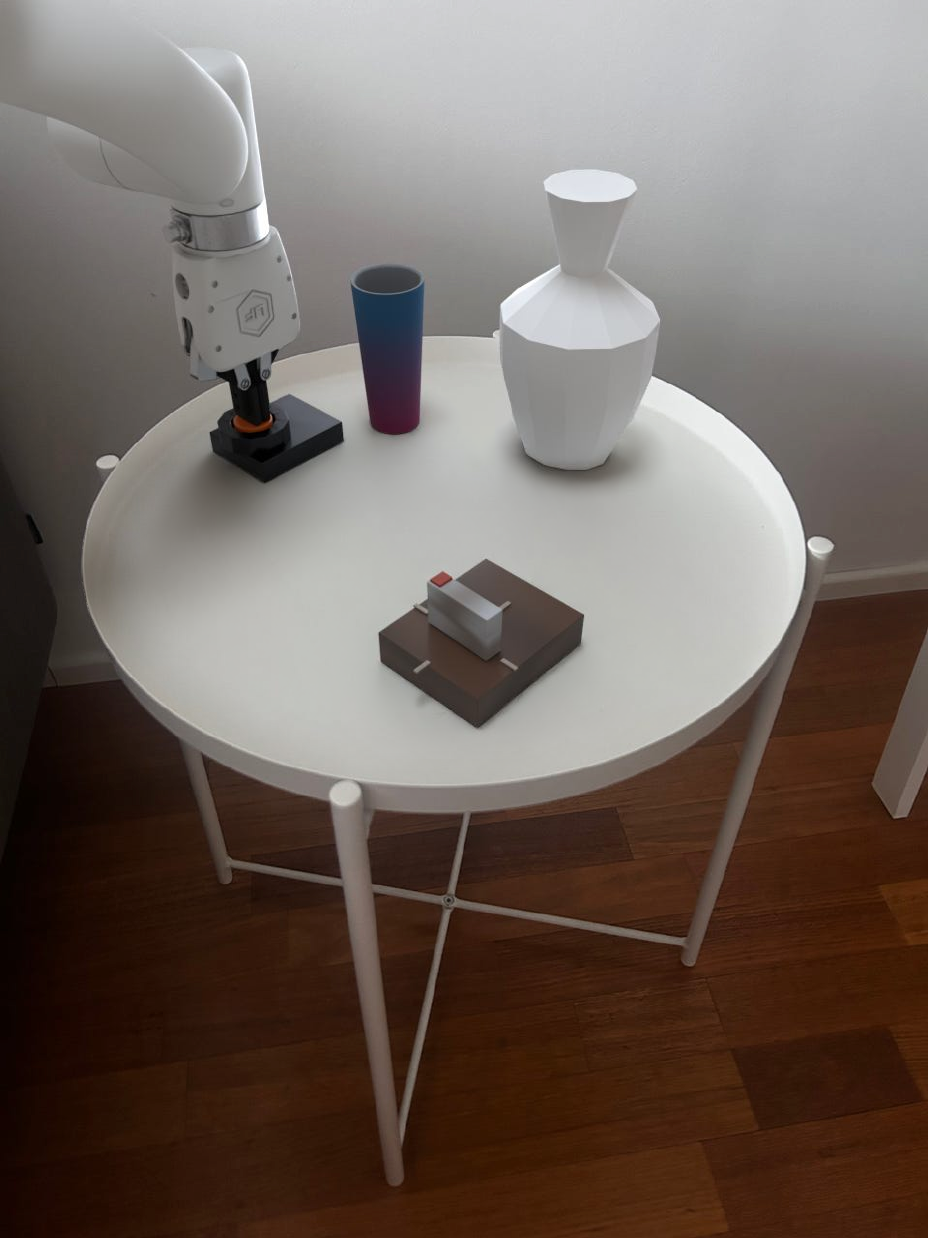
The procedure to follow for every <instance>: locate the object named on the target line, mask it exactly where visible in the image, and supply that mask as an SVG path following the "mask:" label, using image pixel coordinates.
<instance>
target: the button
mask: <svg viewBox="0 0 928 1238" xmlns="http://www.w3.org/2000/svg"><path fill="white" fill-rule="evenodd" d="M233 422H234V428H235V429H236V430H237V431H239V432H246V433H253V432H259V431H264V430H266V429H268V428H270V427H272V425H273V420H272V416H271V414H270V420H268V421H266V422H264V421H262V422H261V424H260V425H258V426H254V425H253V424H251V423H249V422H247V421H246V420H244V419H242V418H240V417H239V416H238V415H236V416H235V417H234V420H233Z"/></svg>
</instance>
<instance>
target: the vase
mask: <svg viewBox="0 0 928 1238" xmlns="http://www.w3.org/2000/svg"><path fill="white" fill-rule="evenodd" d="M542 183H543V188H544V193H545V197H546V203H547V208H548V213H549V218H550V223H551V228H552V233H553V238H554V242H555V248H556V253H557V257H558V263H559V264H557V265H556V266H554V267H552V268H550V269H549V270H548V271H545V272H544V273H542V274H540V275H539V276H537V277H535V278H534V279H532V280H530V281H528V282H527V283H525V284H524V285H522V286H520V287H518V288H517V289H516V290H514V291H513V292H512V294H510V295H509V296H508V297H507V298H506V299H505V300H503V301H502V302H501V303H500V304H499V334H498V336H499V338H498V339H499V361H500V365H501V370H502V371H501V372H502V375H503V380H504V384H505V388H506V392H507V395H508V399H509V402H510V408H511V416H512V418H513V421H514V424H515V426H516V429H517V432H518V434H519V437H520V439H521V442H522V444H523V449H524V452H525V454H526V455H527V456H528V457H530V458H531V459H533V460H535V462H538V463H539V464H541V465H543V466H545V467H550V468H555V469H559V470H565V471H587V470H591V469H593V468H596V467H599V466H601V465H604V463H605V462H606V460H607V459H608V458H609V456H610V454H611V453H612V451H613V449H614V448H615V446H616V445H617V444H618V442H619V441H620V439H621V437H622V436H623V434H624V433H625V432H626V430H627V428H628V427H629V426H630V424H631V423H632V421H633V420H634V418H635V415H636V414H637V410H638V409H639V406H640V404H641V402H642V400H643V397H644V395H645V393H646V390H647V388H648V386H649V384H650V381H651V379H652V375H653V369H654V364H655V359H656V355H657V346H658V342H659V341H658V340H659V335H660V334H659V333H660V326H661V318H660V316H659V313H658V311H657V309H656V307H655V304H654V302H653V301H652V300H651V299H650V298H649V297H647V296H646V295H644V293H642V292H641V291H639V290H638V289H637V288H635V287H634V286H633V285H632V284H630V283H629V282H627V281H626V280H625V279H624V278H622V276H620V275H618V274H617V273H616V272H614V271H613V270H612V269H611V268H609V264H610V262H611V258H612V256H613V254H614V251H615V249H616V246H617V244H618V240H619V238H620V236H621V233H622V230H623V228H624V225H625V222H626V220H627V217H628V215H629V212H630V210H631V207H632V204H633V202H634V199H635V196H636V194H637V191H638V187H637V185H636V183H635V181H634V179H632V178H629V177H627V176H625V175H623V174H621V173H618V172H613V171H607V170H600V169H596V168H595V169H594V168H593V169H570V170H565V171H561V172H556V173H552V174H551V175H549V177H547V178H546V179H544V180H543V182H542Z"/></svg>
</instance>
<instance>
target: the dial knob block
mask: <svg viewBox="0 0 928 1238" xmlns="http://www.w3.org/2000/svg"><path fill="white" fill-rule="evenodd" d="M454 580H456V581H458V582H459V583H461V584H462V585H464V586H466V587H467V588H469V589H470V590H472V591H473V592H475V593H477V594H478V595H480V596H481V597H483V598H485V599H486V600H488V601H489V602H491V603H492V604H494V605H496V606H497V607H499V608H500V609H502V634H501V651H499V652H498V653H497V654H495V655H494V656H493V657H491V658H490V659H489V660H487V661H485V660H484V659H482V658H481V657H479V656H478V655H476V654H475V653H473V652H472V651H470V650H469V649H467V648H466V647H464V646H463V645H462V644H460V643H459V642H457V641H456V640H454V639H453V638H451V637H450V636H448V635H447V634H445V633H444V632H442V631H441V630H439V629H438V628H436V627H435V626H433V625H432V624H430V623H429V622H428V598H426V599H425V600H424V601H422V602H420V603H417V602H416V603H414V604H413V608H412V609H410V610H409V611H408V612H406V613H405V614H403V615H402V616H400V617H399V618H397V619H396V620H394V621H393V622H391V623H390V624H388V625H387V626H386V627H384V628H382V629H381V630H380V631H379V632H378V633H377V635H378V647H379V659H380V662H381V663H383V664H384V665H385V666H387V667H388V668H389V669H391V670H393V671H394V672H395V673H397V674H398V675H400V676H401V677H403V678H404V679H406V680H407V681H408V682H410V683H412V684H413V685H414V686H416V687H418V688H419V689H420V690H422V691H423V692H424V693H426V694H427V695H429V696H430V697H432V698H433V699H435V701H437V702H439V703H440V704H442V705H443V706H445V707H446V708H448V709H449V710H450V711H452V712H453V713H455V714H456V715H458V716H459V717H461V718H462V719H463V720H465V721H467V722H468V723H469V724H470V725H472V726H474V727H475V728H479V727H480V726H482V725H483V724H484V723H486V722H487V721H488V720H489V719H491V718H492V717H493V716H494V715H495V714H496V713H497V712H500V710H502V708H504V707H505V706H507V705H508V704H509V703H510V702H511V701H513V700H514V699H515V698H516V697H518V695H520V694H521V693H522V692H524V691H525V690H526V689H527V688H528V687H529V686H531V685H532V684H533V683H535V682H536V681H537V680H538V679H539V678H540V677H542V676H543V675H544V674H546V672H548V671H549V670H550V669H552V668H553V667H554V666H555V665H556V664H557V663H559V662H560V661H561V660H562V659H564V658H565V656H566V657H567V655H569V654H570V653H571V652H572V651H573V650H575V649H576V648H577V647H578V646H580V644H582V637H583V630H584V629H583V628H584V620H585V614H584V613H582V612H580V611H578V610H577V609H575V608H573V607H572V606H570V605H568V604H566V603H564V602H563V601H561V600H559V599H558V598H556V597H555V596H553V595H551V594H549V593H547V592H545V591H544V590H542V589H540V588H539V587H537V586H535V585H533V584H532V583H530V582H528V581H526V580H525V579H523V578H521V577H519V576H518V575H516V574H514V573H512V572H511V571H509V570H507V569H506V568H504V567H502V566H500V565H498V564H496V563H495V562H493V561H492V560H490V559H488V558H484V559H483V560H481V561H480V562H479V563H477V564H475V565H474V566H473V567H471V568H470V569H469V570H467V571H466V572H464V573H463V574H460V576H458V577H457V578H454Z"/></svg>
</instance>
